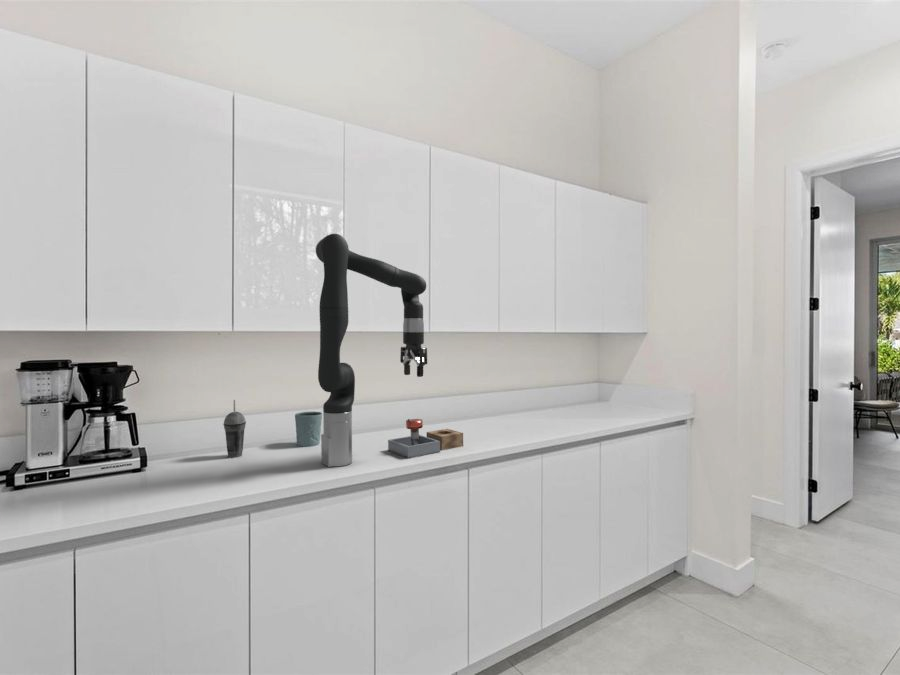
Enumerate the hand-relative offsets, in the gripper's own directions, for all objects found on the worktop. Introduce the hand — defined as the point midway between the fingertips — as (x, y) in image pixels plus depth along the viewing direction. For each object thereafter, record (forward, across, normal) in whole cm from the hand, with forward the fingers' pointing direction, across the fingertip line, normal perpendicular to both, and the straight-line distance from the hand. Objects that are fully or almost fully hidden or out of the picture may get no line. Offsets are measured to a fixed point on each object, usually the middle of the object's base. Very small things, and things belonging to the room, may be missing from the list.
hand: (413, 375), depth 170 cm
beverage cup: (+28, +34, +53) cm, 69 cm away
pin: (+27, 0, -1) cm, 27 cm away
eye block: (+28, 0, -14) cm, 31 cm away
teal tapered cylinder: (+28, +35, +26) cm, 52 cm away
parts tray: (+28, 0, 0) cm, 28 cm away
